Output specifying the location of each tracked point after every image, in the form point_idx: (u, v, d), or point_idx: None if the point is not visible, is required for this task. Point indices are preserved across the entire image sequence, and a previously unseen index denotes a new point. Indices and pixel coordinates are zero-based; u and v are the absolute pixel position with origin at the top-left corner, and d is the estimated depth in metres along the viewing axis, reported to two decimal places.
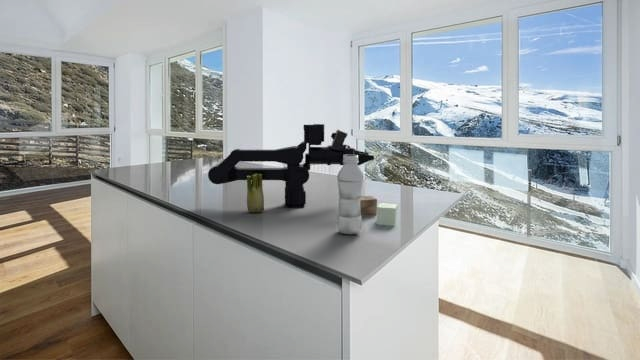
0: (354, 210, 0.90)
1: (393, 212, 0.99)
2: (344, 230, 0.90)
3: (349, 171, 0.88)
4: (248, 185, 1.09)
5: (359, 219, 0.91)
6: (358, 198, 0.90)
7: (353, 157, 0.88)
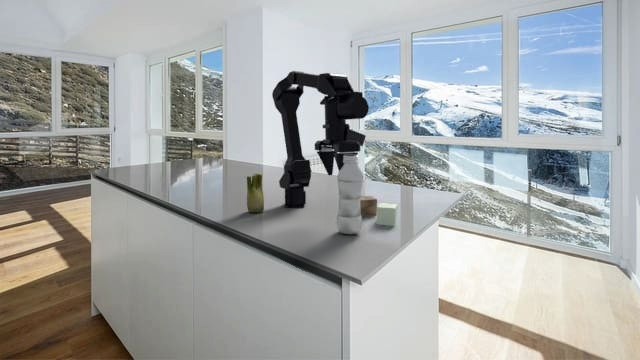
0: (354, 210, 0.90)
1: (393, 212, 0.99)
2: (344, 230, 0.90)
3: (349, 171, 0.88)
4: (248, 185, 1.09)
5: (359, 219, 0.91)
6: (358, 198, 0.90)
7: (353, 157, 0.88)
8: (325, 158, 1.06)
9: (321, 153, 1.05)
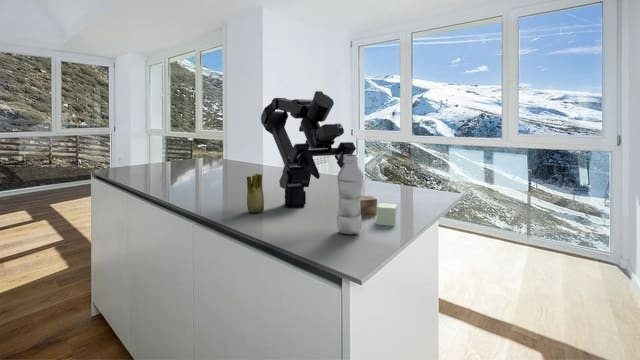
0: (354, 210, 0.90)
1: (393, 212, 0.99)
2: (344, 230, 0.90)
3: (349, 171, 0.88)
4: (248, 185, 1.09)
5: (359, 219, 0.91)
6: (358, 198, 0.90)
7: (353, 157, 0.88)
8: (340, 164, 1.04)
9: (337, 162, 1.05)
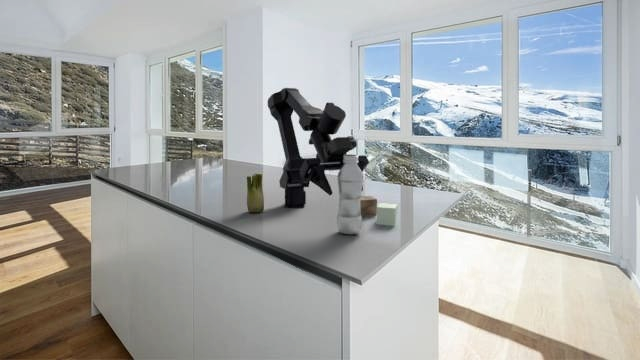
0: (354, 210, 0.90)
1: (393, 212, 0.99)
2: (344, 230, 0.90)
3: (349, 171, 0.88)
4: (248, 185, 1.09)
5: (359, 219, 0.91)
6: (358, 198, 0.90)
7: (353, 157, 0.88)
8: None
9: None
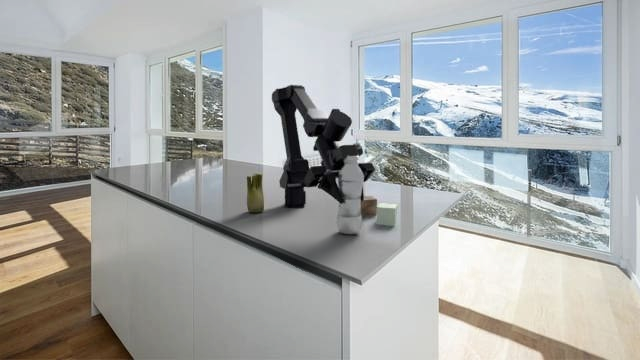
0: (355, 210, 0.90)
1: (393, 212, 0.99)
2: (344, 230, 0.90)
3: (350, 171, 0.88)
4: (248, 185, 1.09)
5: (359, 219, 0.91)
6: (358, 198, 0.90)
7: (353, 157, 0.88)
8: None
9: None
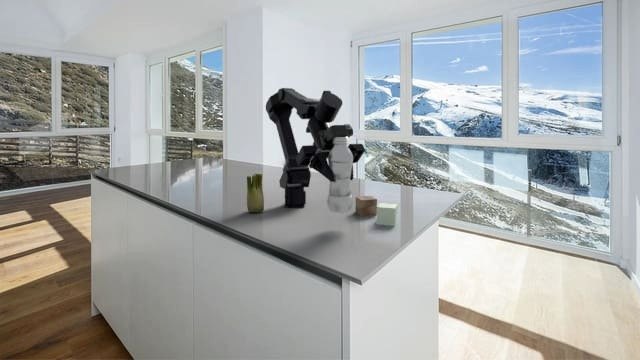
0: (345, 189, 0.93)
1: (393, 212, 0.99)
2: (335, 209, 0.94)
3: (339, 152, 0.91)
4: (248, 185, 1.09)
5: (349, 198, 0.94)
6: (348, 178, 0.93)
7: (343, 138, 0.91)
8: None
9: None
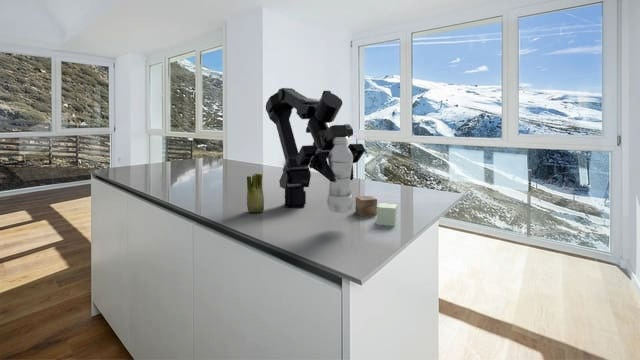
0: (345, 189, 0.93)
1: (393, 212, 0.99)
2: (335, 209, 0.94)
3: (339, 152, 0.91)
4: (248, 185, 1.09)
5: (349, 198, 0.94)
6: (348, 178, 0.93)
7: (343, 138, 0.91)
8: None
9: None
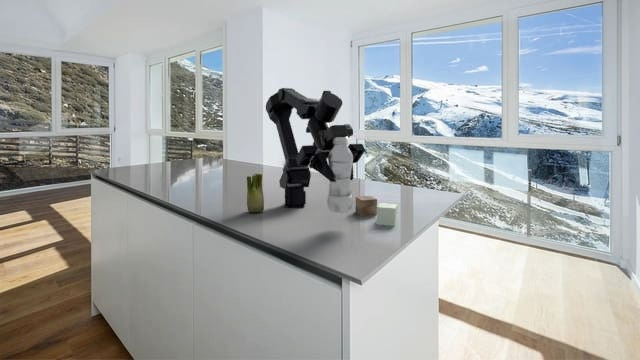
0: (345, 189, 0.93)
1: (393, 212, 0.99)
2: (335, 209, 0.94)
3: (339, 152, 0.91)
4: (248, 185, 1.09)
5: (349, 198, 0.94)
6: (348, 178, 0.93)
7: (343, 138, 0.91)
8: None
9: None
